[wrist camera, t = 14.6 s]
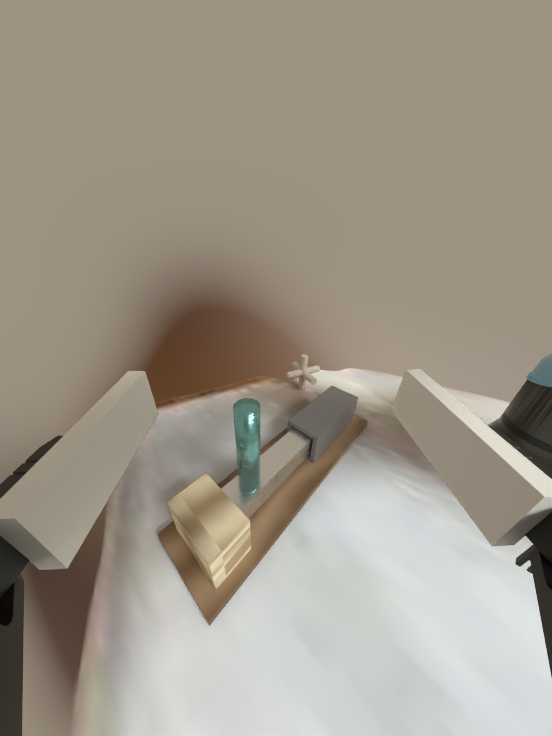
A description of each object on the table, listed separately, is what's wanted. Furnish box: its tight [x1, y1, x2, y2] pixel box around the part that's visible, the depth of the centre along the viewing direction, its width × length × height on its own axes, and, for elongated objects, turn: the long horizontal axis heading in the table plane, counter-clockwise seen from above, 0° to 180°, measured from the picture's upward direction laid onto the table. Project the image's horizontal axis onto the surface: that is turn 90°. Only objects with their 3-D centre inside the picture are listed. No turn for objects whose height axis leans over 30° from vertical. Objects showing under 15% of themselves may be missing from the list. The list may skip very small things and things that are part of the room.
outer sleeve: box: [287, 386, 358, 463], centre depth 47 cm, size 6×16×6 cm, turn 138°
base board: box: [158, 415, 368, 626], centre depth 41 cm, size 12×42×1 cm, turn 138°
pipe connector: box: [286, 355, 320, 389], centre depth 62 cm, size 10×10×10 cm
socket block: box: [167, 473, 251, 590], centre depth 29 cm, size 9×6×7 cm, turn 48°
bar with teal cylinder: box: [221, 398, 313, 519], centre depth 33 cm, size 4×24×18 cm, turn 138°
